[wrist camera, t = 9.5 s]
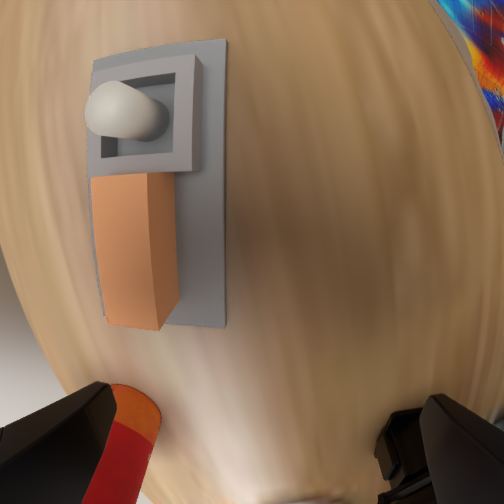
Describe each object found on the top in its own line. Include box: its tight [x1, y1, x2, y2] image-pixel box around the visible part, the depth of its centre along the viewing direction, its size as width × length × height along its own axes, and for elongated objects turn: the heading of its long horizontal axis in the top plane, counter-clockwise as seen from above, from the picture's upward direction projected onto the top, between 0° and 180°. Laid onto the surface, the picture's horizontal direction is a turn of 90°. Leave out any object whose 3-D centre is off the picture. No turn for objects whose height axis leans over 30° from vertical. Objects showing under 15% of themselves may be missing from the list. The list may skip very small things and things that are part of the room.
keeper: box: [85, 39, 227, 328], centre depth 15 cm, size 9×18×6 cm, turn 179°
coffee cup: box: [82, 384, 161, 504], centre depth 16 cm, size 8×8×15 cm
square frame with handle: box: [87, 54, 204, 331], centre depth 15 cm, size 14×6×4 cm, turn 179°
